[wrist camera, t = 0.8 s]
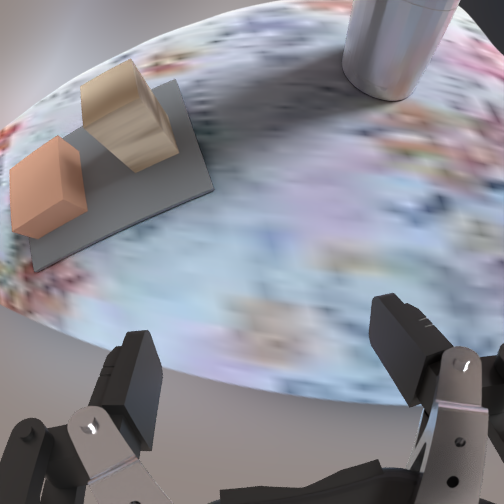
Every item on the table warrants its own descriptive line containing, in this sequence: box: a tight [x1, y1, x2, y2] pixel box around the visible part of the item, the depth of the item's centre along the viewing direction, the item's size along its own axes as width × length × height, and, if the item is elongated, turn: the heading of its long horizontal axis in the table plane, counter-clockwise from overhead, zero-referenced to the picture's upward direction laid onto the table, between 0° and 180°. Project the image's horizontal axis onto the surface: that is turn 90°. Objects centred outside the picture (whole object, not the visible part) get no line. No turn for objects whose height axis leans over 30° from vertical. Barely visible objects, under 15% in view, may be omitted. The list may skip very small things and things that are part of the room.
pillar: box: [80, 59, 179, 173], centre depth 26 cm, size 5×5×10 cm
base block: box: [10, 135, 88, 239], centre depth 29 cm, size 8×8×4 cm
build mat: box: [29, 79, 214, 272], centre depth 31 cm, size 15×23×1 cm, turn 110°
